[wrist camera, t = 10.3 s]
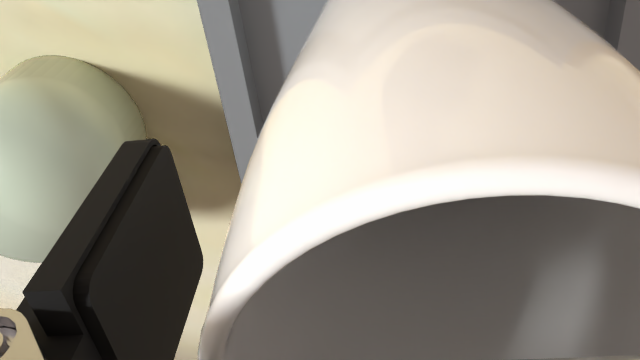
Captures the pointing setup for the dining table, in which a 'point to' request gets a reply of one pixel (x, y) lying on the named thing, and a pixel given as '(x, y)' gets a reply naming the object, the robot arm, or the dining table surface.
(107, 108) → the pale green rounded cylinder
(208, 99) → the dining table surface
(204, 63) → the dining table surface
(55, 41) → the dining table surface
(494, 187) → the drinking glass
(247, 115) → the slate tray
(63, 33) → the dining table surface
